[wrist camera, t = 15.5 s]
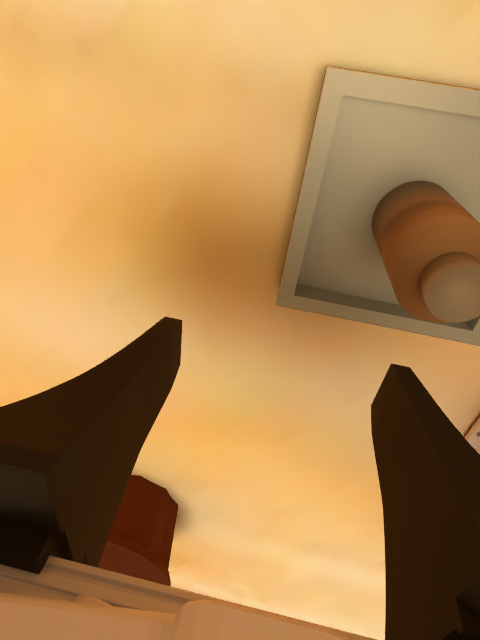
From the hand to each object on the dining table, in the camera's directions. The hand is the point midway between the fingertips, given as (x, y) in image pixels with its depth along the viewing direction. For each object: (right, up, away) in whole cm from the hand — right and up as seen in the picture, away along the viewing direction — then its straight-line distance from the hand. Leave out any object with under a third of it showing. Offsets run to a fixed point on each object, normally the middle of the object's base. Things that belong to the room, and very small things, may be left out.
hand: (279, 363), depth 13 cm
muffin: (-12, -17, +26) cm, 33 cm away
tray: (+7, +7, +6) cm, 11 cm away
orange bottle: (+7, +6, +5) cm, 10 cm away
